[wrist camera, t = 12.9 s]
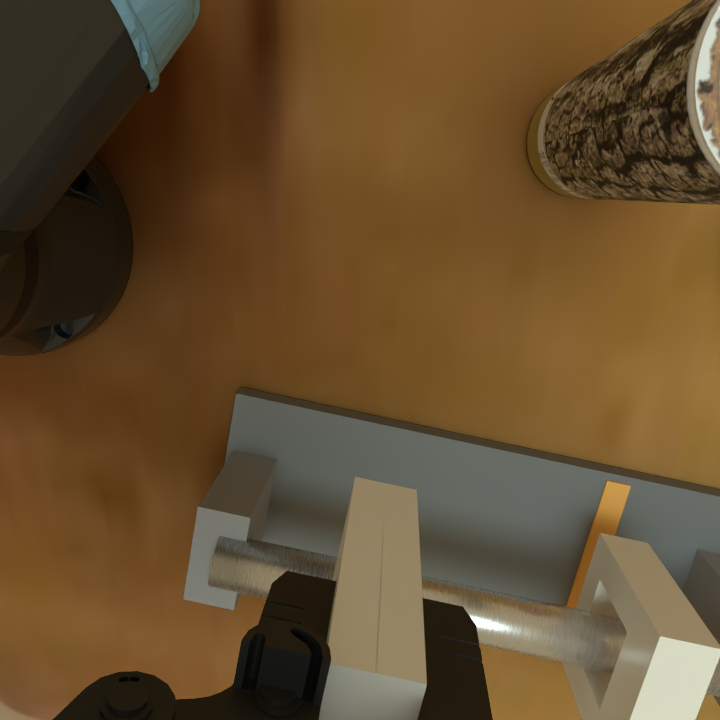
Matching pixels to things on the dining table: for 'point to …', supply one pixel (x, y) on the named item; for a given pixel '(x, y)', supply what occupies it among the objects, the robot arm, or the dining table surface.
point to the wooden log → (639, 118)
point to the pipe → (485, 607)
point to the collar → (643, 639)
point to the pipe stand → (448, 503)
